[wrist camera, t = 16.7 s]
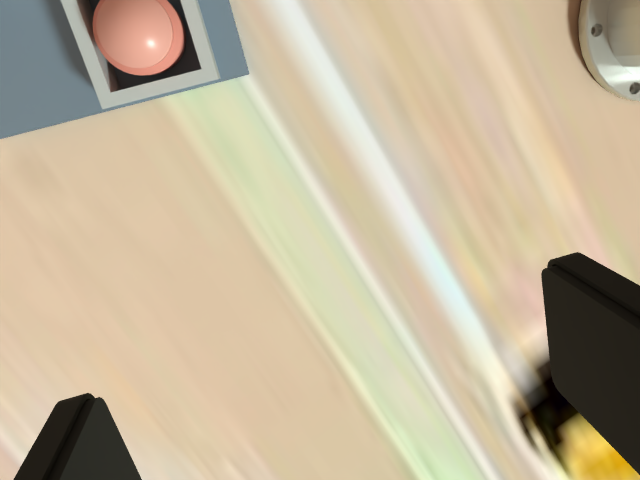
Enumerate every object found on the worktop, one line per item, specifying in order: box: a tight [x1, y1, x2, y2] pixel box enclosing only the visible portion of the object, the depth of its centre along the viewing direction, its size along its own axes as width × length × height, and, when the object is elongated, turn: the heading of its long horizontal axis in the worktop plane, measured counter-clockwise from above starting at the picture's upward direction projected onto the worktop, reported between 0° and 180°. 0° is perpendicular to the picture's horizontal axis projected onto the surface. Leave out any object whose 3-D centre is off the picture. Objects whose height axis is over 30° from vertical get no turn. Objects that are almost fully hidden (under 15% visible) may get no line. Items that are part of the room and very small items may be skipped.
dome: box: [93, 0, 186, 75], centre depth 30 cm, size 5×5×4 cm
